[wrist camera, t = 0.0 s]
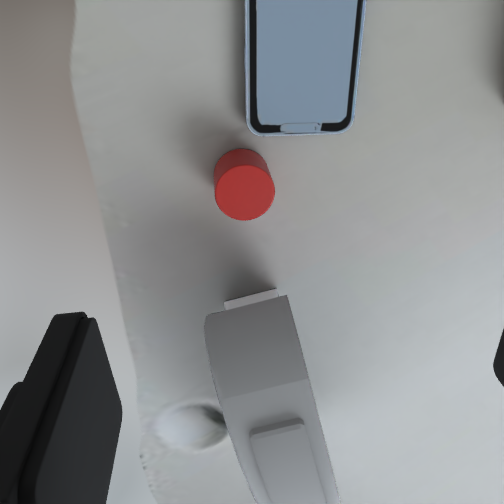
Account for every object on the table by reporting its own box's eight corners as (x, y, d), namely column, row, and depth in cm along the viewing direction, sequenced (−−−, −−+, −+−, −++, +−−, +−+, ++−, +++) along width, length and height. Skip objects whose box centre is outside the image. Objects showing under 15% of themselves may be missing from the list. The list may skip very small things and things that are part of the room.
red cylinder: (211, 150, 31) (211, 167, 28) (267, 145, 31) (274, 162, 28) (216, 202, 33) (217, 223, 30) (269, 197, 33) (276, 218, 30)
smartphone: (383, -156, 23) (353, 133, 30) (377, -151, 24) (349, 130, 31) (242, -160, 22) (246, 136, 30) (241, -154, 23) (244, 133, 30)
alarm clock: (203, 273, 36) (202, 395, 25) (275, 254, 36) (307, 369, 25) (266, 444, 48) (284, 578, 37) (321, 431, 48) (356, 562, 37)
